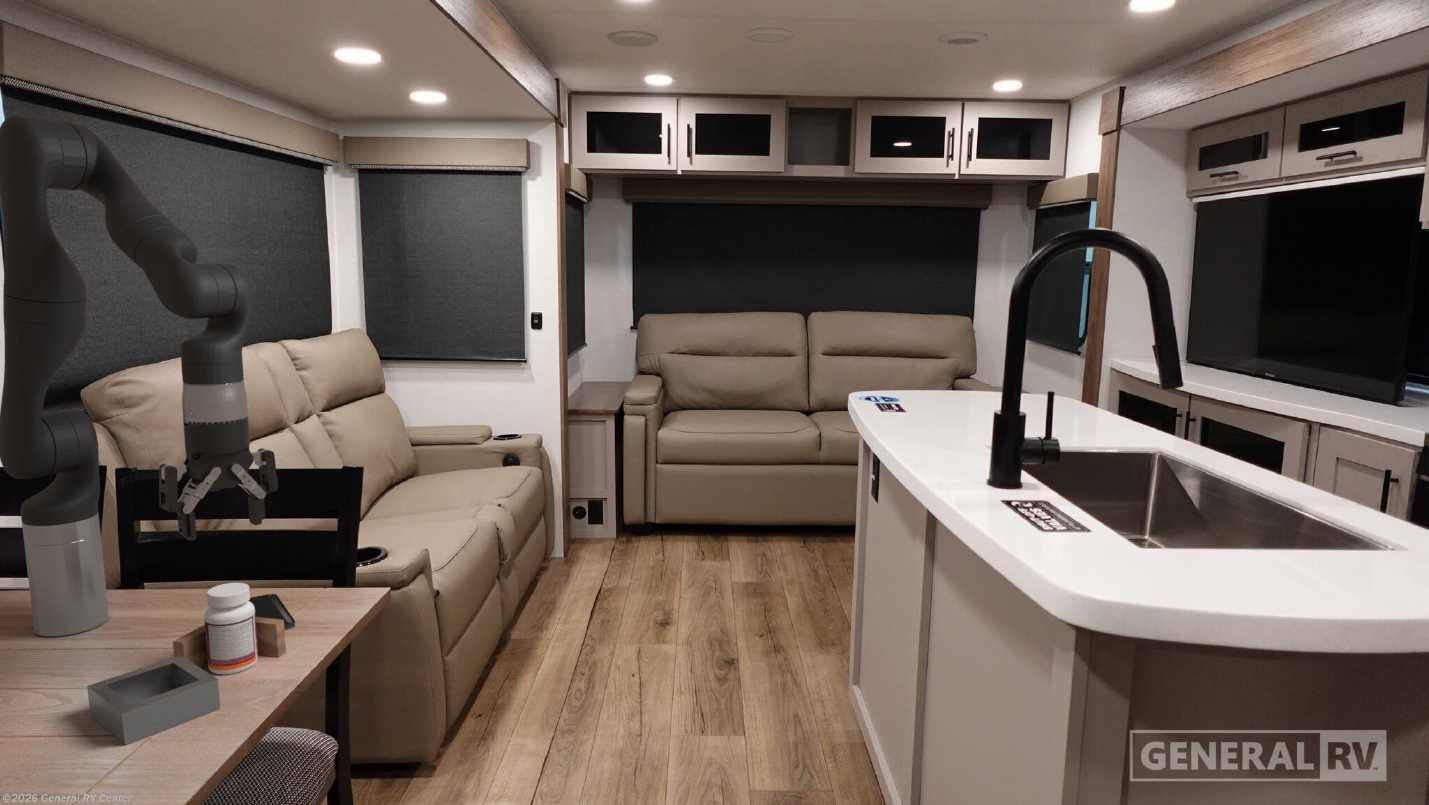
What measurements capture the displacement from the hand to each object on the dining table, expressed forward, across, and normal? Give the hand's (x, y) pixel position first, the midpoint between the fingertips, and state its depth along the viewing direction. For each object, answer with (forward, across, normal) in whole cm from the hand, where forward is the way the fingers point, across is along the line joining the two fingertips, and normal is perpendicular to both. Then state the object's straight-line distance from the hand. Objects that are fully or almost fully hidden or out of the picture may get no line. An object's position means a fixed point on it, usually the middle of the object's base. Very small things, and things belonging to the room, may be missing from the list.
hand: (223, 531), depth 116 cm
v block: (+20, -1, -3) cm, 20 cm away
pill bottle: (+20, 0, 0) cm, 20 cm away
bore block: (+20, +12, +6) cm, 24 cm away
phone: (+20, -10, -14) cm, 26 cm away
